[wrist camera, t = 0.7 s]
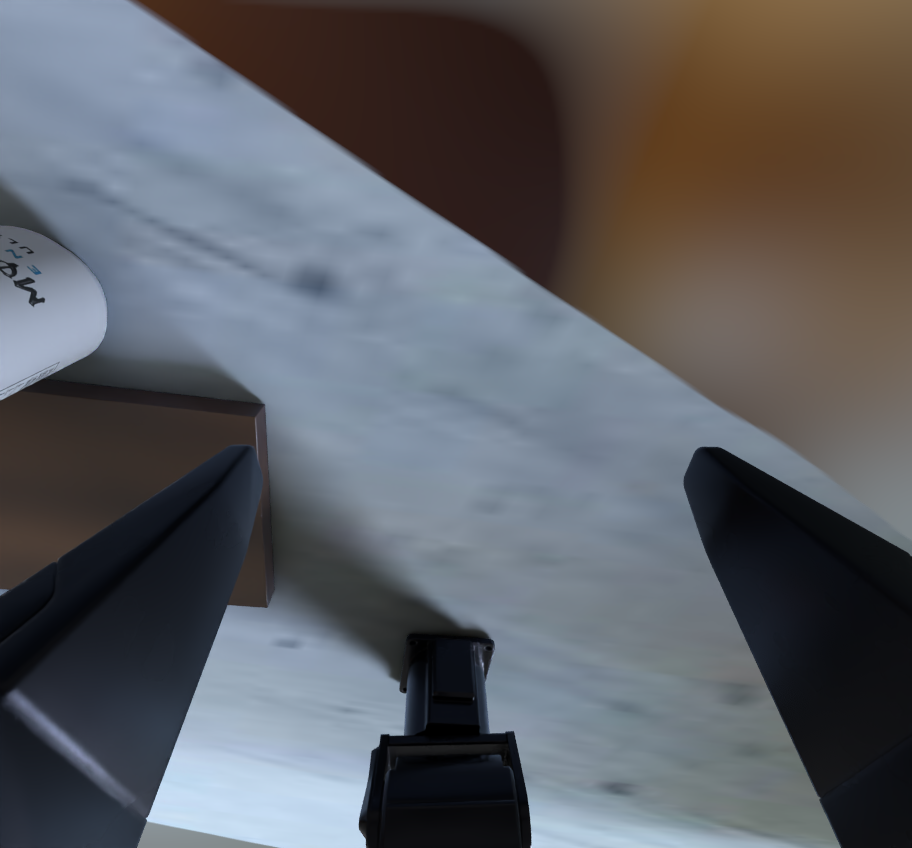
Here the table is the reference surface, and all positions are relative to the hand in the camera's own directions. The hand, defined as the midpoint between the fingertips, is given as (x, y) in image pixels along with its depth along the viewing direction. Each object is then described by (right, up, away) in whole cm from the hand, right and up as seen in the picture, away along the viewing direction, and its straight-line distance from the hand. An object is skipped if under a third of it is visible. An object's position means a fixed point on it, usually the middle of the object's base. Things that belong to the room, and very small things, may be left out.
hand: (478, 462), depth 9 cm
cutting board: (-22, -3, +17) cm, 28 cm away
